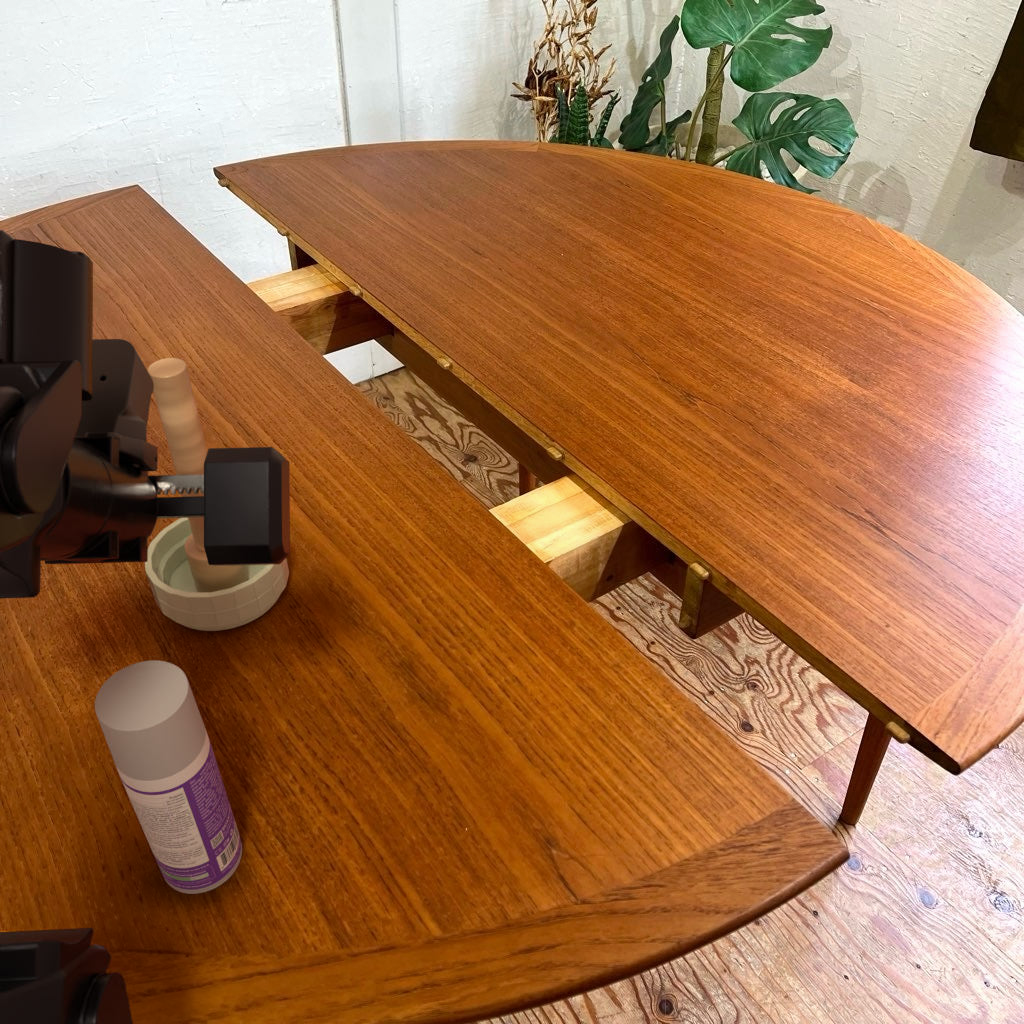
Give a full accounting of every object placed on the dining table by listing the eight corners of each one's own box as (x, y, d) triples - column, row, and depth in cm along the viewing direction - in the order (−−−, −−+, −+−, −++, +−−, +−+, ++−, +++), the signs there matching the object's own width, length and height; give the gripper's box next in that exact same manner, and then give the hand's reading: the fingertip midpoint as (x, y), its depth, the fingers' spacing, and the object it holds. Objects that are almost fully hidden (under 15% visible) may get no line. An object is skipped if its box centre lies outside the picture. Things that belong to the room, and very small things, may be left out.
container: (216, 807, 59) (161, 643, 50) (258, 857, 57) (209, 694, 47) (146, 856, 57) (74, 693, 47) (187, 910, 54) (120, 750, 45)
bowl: (249, 648, 69) (240, 610, 67) (130, 618, 72) (116, 579, 69) (312, 559, 77) (305, 521, 74) (201, 534, 79) (191, 496, 76)
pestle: (258, 582, 74) (210, 369, 61) (210, 606, 72) (150, 391, 59) (233, 555, 76) (181, 344, 64) (186, 578, 74) (123, 365, 62)
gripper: (254, 320, 45) (311, 391, 60) (-155, 326, 44) (9, 397, 60) (255, 558, 44) (312, 568, 59) (-163, 569, 43) (5, 576, 59)
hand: (160, 522), depth 59 cm, fingers open, 9 cm apart
